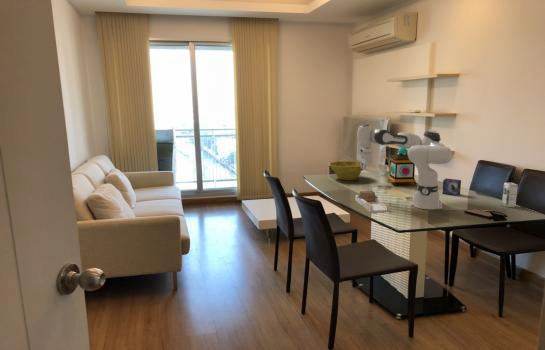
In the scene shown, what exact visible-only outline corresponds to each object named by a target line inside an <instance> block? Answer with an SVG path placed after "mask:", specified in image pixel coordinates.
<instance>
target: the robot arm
mask: <svg viewBox="0 0 545 350" xmlns="http://www.w3.org/2000/svg"><path fill="white" fill-rule="evenodd" d="M357 128H358V129H357V137H356V139H357V142H356V161H358V162H360V164H361V168H362V169H364V170H363V171H365V170H366V169H367V165H371V163H372V159H373V158H372V157H373V156H372V155H373V154H372V153H373V149H372V147H371V143H372V144H378V145H381V146H386V145H388V144H395V146H396V147H399V148H406V149H407V153H408V158H409V159H410V161H412V162H413V163H414V164H415V168H416V169H417V173H418V182H417V183H418V184H417V187H416V191H415V192H414V199H413V202H411V203H410V205H411V206H413V207H415V208H418V209H421V210H422V209H423V210H440V209H443V201H442V200H441V199H440V193H439V187H438V177H439V175H438V172H437V171H436V170H435V169H433V168H432V167H430V164H433V165H435V164H436V165H445V164H448V163H450V162H451V160H452V158H453V152H452V149H450V147H447V146H446V145H445V144H443V143H441V142H440V141H441V140H442V138H441V136H440V133H439V132H438V131H436V130H434V129H433V130H432V129H429V130H426V131H424V133H423V136H422V138H421V136H419V135H417V134H414V133H411V132H405V131H401V132H398V133H392V132H391V131H389V130H387V129H381V128H380V129H378V128H375V127H373V126H371V124H368V123H365V124H361V125H359V126H358V127H357Z"/></svg>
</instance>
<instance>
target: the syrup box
mask: <svg viewBox="0 0 545 350" xmlns="http://www.w3.org/2000/svg"><path fill="white" fill-rule="evenodd" d="M518 186H519V185H518V184H516V183H514V182H504V183H503V191H502V201H501V205H502V206H503V207H506V208H516V207H517V205H516V203H517V197H518V195H517V194H518Z"/></svg>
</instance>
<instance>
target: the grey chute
mask: <svg viewBox="0 0 545 350" xmlns="http://www.w3.org/2000/svg"><path fill="white" fill-rule="evenodd" d="M354 197H355V199H354V200H355V201H356V203H358V205H360V206H362V207H363V208H365V210H367V211H368V212H369V213H382V212H384V213H385V212H390V205H389V204H388V203H386V202H385V201H383V200H381V199H379V197H378V196H377V195H375V201H373V202H366V201H365V200H364V199H362V197H361V196H360V195H358V194H356V195H355V196H354Z"/></svg>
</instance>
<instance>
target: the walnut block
mask: <svg viewBox="0 0 545 350" xmlns="http://www.w3.org/2000/svg"><path fill="white" fill-rule="evenodd" d="M359 196H361V197H362V199H364V200H365V201H366V202H373V201H375V196H376V191H373V190H361V191H359Z"/></svg>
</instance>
